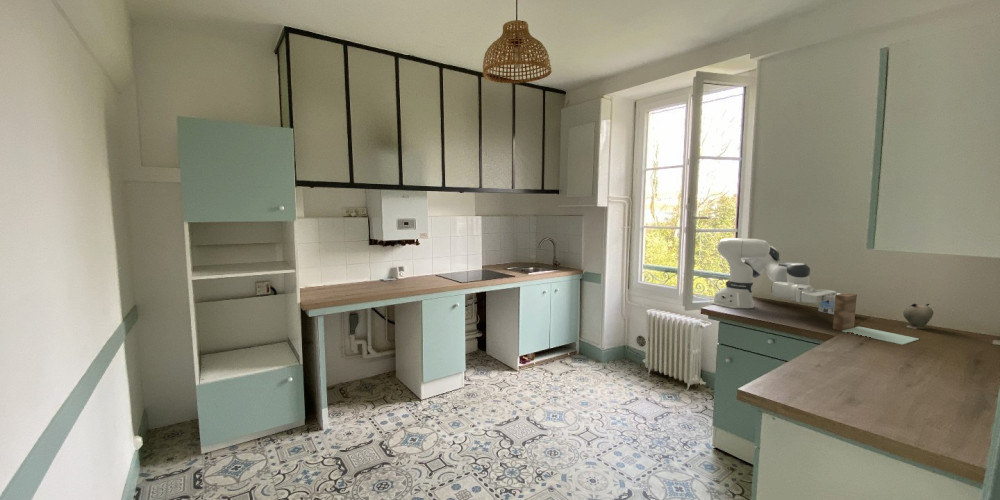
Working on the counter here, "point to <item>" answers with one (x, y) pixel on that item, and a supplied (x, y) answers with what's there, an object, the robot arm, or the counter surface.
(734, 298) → the robot arm
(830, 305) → the light bulb box
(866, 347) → the counter surface
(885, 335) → the sage board
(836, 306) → the walnut domino
